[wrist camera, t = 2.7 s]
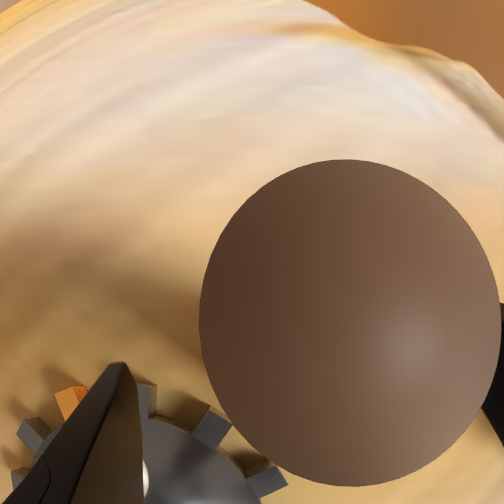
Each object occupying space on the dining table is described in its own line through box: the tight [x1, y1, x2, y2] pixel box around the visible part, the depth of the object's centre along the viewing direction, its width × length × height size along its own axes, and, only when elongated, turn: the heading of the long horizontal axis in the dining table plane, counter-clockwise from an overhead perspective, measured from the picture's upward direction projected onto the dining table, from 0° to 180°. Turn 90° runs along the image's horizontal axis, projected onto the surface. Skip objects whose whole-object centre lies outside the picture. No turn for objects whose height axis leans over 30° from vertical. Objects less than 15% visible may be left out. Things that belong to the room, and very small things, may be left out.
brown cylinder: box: [199, 160, 501, 487], centre depth 9 cm, size 4×4×13 cm
